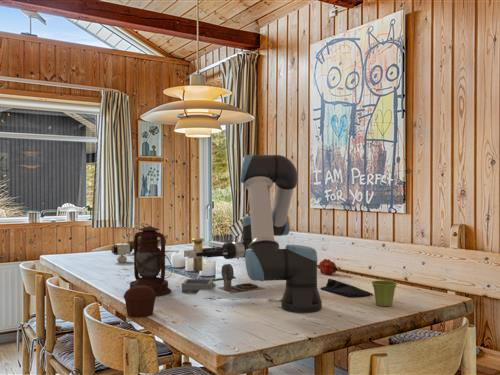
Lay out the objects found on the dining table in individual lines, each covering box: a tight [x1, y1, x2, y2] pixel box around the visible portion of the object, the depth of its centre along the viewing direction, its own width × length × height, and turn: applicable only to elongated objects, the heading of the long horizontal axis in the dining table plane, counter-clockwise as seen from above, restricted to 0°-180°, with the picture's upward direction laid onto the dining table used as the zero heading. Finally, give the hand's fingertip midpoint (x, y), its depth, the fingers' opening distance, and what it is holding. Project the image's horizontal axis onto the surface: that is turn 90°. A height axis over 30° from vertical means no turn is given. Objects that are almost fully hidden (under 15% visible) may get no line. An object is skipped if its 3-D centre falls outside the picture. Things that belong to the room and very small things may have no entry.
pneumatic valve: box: [110, 241, 134, 263], centre depth 296 cm, size 6×12×12 cm, turn 125°
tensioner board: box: [217, 263, 266, 294], centre depth 212 cm, size 13×17×12 cm
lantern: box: [129, 222, 173, 298], centre depth 211 cm, size 19×19×30 cm
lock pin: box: [191, 237, 205, 272], centre depth 217 cm, size 5×5×14 cm
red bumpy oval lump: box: [317, 258, 338, 276], centre depth 254 cm, size 8×8×12 cm
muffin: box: [122, 285, 157, 319], centre depth 174 cm, size 12×11×10 cm
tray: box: [181, 278, 214, 293], centre depth 217 cm, size 12×12×4 cm
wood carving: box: [123, 234, 169, 250], centre depth 341 cm, size 9×35×11 cm, turn 132°
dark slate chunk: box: [320, 278, 374, 298], centre depth 211 cm, size 15×22×5 cm
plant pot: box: [371, 279, 398, 307], centre depth 188 cm, size 9×9×9 cm
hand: (186, 254), depth 214 cm, fingers closed on lock pin, 4 cm apart
